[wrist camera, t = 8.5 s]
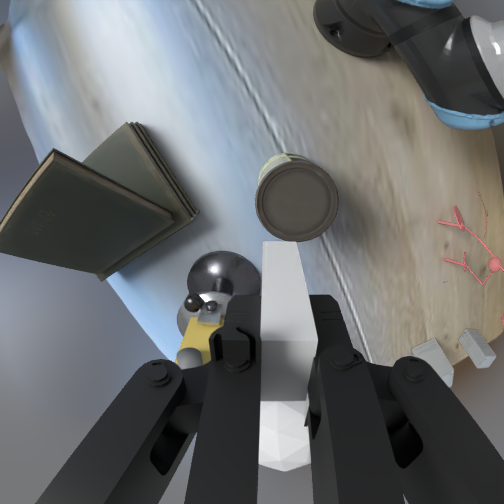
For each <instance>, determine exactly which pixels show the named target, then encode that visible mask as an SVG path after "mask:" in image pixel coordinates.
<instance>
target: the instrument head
mask: <svg viewBox="0 0 504 504" xmlns="http://www.w3.org/2000/svg"><path fill="white" fill-rule="evenodd" d="M197 320H198V318H197V317H191V318H190V321H189V324H188V326H187V329H186V332H185V335H184V338H183V340H182V343H181V346H180V349H179V352H178V353H177V356H176V360H175V363H176V364H177V365H178V366H179V367H180V368H181V369H187V368H193V367H198V366H202V365H204V364H206V363H208V362H209V361H211V354H210V347H209V340H208V339H209V337H210V335H211V333H212V332H214V331H215V330H216V329H218V328H219V327H222V326H223V324H224V319H221V320H220V324H219V326H207V325H198V324H197Z"/></svg>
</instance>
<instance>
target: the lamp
mask: <svg viewBox="0 0 504 504" xmlns="http://www.w3.org/2000/svg"><path fill="white" fill-rule="evenodd" d="M308 407H309V399H308V394H307V399H306V401H261V402H260V436H259V464H261V465H263V466H266V467H270V468H273V469H277V470H281V471H289V470H292V469H295V468H298V467H301V466H304V465H307V464H310V463H311V456H310V443H309V432H308V426H307V427H304V423H305V419H306V415H307V411H308Z"/></svg>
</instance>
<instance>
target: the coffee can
mask: <svg viewBox="0 0 504 504" xmlns="http://www.w3.org/2000/svg"><path fill="white" fill-rule="evenodd" d="M255 207H256V212H257V215H258V218H259V220H260V222H261V223H262V225H263V226H264V227H265V229H266V230H267V231H268V232H270V233H271V234H272V235H274V236H275V237H277V238H279V239H282V240H285V241H289V242H303V241H308V240H311V239H314V238H316V237H318V236H319V235H321V234H322V233H323V232H325V231H326V230H327V229H328V227H329V226H330V225H331V224H332V222H333V220H334V218H335V216H336V214H337V210H338V192H337V189H336V186H335V184H334V182H333V180H332V179H331V177H330V176H329V175H328V174H327V173H326V172H325V171H324V170H323V169H322V168H320V167H319V166H317V165H315V164H313V163H311V162H310V161H309V160H308V159H306V158H305V157H303V156H301V155H299V154H295V153H281V154H278V155H275V156H274V157H272V158H270V159H269V160H268V161H267V162H266V163H265V164H264V165H263V167H262V169H261V171H260V174H259V178H258V189H257V192H256V198H255Z"/></svg>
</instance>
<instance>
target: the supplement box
mask: <svg viewBox="0 0 504 504" xmlns="http://www.w3.org/2000/svg"><path fill="white" fill-rule="evenodd" d="M412 356H413V357H418V358H420V359H423V360H425V361H426V362H427V363H428V364H430V365H431V366H432V368H433V369H434V370H435V371H436V372H437V374H438V375H439V376H440V377H441V378H442V380H443V381H444V382H445V383H446V385H447V386H448V387H451V386H452V382H453V375H454V369H453V367H452V366H451V364H450V362H449V361H448V359H447V357H446V356H445V354H444V352H443V351H442V349H441V347H440V346H439V344H438V342H437V341H436V339H435V338H433V339H431V340H429V341H427V342H425V343H422V344H420V345H418V346H416V347H414V348H412Z"/></svg>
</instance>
